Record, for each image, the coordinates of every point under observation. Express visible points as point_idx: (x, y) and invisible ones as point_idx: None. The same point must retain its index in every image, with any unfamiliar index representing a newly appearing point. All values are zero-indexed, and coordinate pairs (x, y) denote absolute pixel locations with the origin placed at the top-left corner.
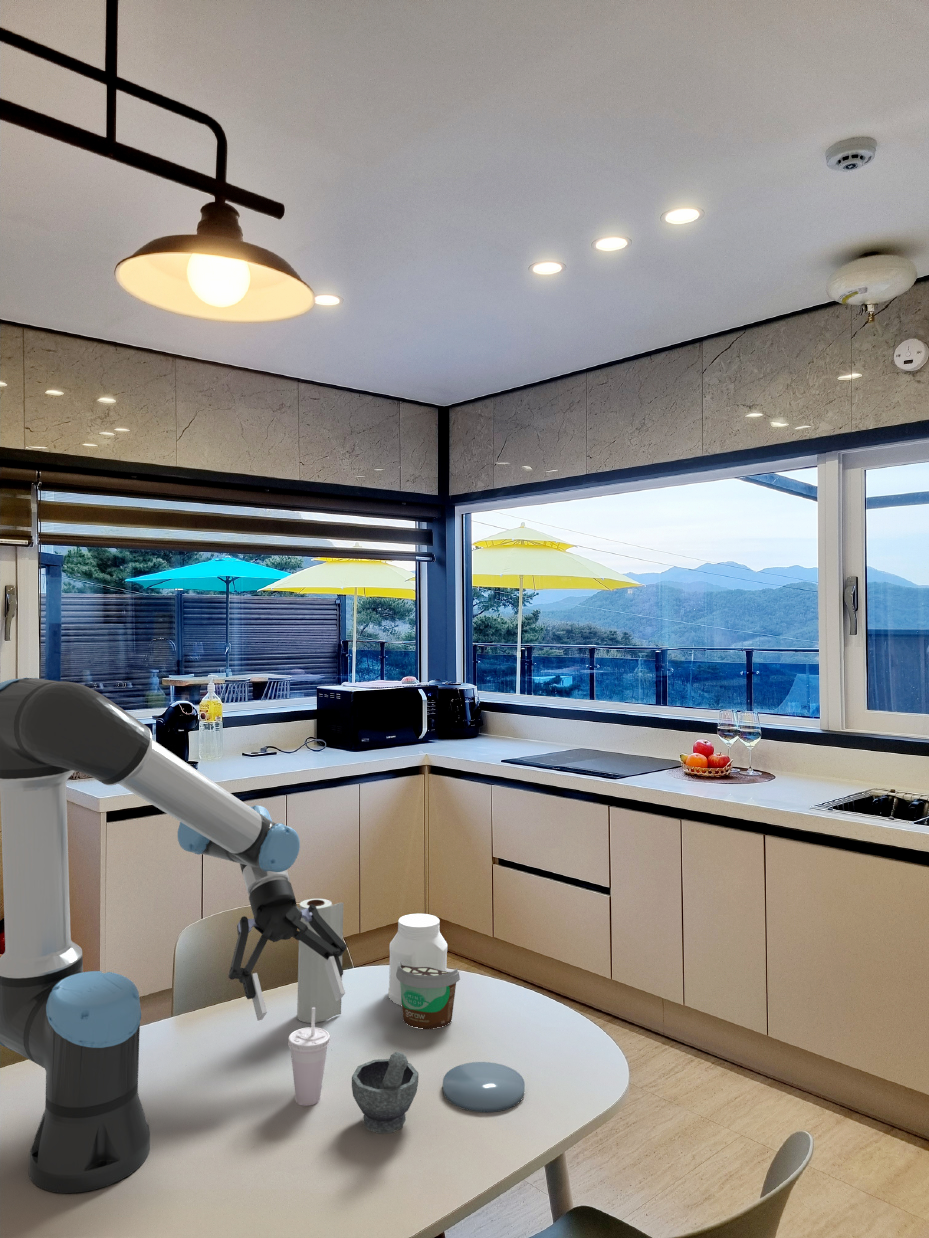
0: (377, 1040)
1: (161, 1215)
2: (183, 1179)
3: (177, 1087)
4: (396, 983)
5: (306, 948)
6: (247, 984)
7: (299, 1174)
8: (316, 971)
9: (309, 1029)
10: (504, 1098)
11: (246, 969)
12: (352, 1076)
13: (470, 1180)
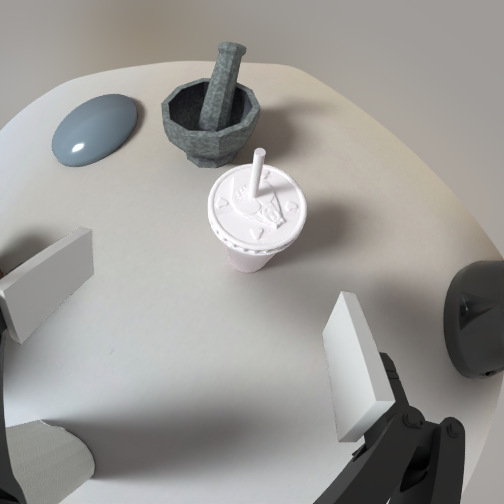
0: None
1: (449, 200)
2: (432, 226)
3: None
4: None
5: None
6: (397, 385)
7: (343, 150)
8: (26, 463)
9: (233, 230)
10: (112, 97)
11: (418, 423)
12: (248, 125)
13: None
